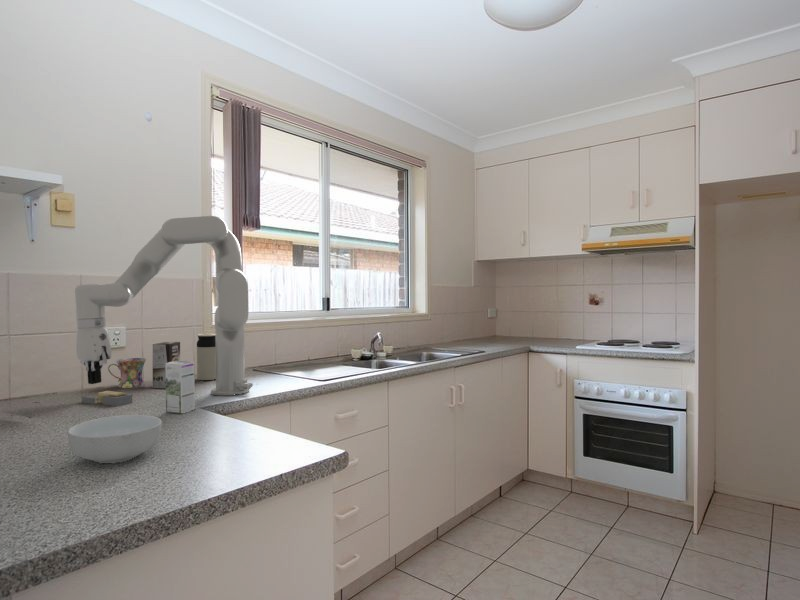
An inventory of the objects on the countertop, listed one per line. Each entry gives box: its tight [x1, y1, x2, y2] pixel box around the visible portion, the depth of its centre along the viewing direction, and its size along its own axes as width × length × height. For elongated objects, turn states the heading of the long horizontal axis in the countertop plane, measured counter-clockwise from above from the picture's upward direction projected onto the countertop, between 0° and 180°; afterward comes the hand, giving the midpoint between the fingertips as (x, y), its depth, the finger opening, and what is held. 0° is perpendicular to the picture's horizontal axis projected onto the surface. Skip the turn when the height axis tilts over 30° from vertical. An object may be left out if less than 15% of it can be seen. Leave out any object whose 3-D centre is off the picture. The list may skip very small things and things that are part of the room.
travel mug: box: [196, 333, 216, 381], centre depth 196 cm, size 8×8×18 cm
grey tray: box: [81, 393, 133, 407], centre depth 149 cm, size 15×24×4 cm, turn 157°
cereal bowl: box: [67, 414, 163, 464], centre depth 102 cm, size 17×17×7 cm
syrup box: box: [165, 360, 196, 414], centre depth 142 cm, size 6×6×14 cm
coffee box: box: [151, 341, 181, 389], centre depth 181 cm, size 9×6×16 cm
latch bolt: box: [97, 390, 127, 404], centre depth 148 cm, size 8×3×3 cm, turn 67°
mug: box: [107, 357, 147, 389], centre depth 175 cm, size 12×9×11 cm
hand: (94, 383), depth 152 cm, fingers closed
